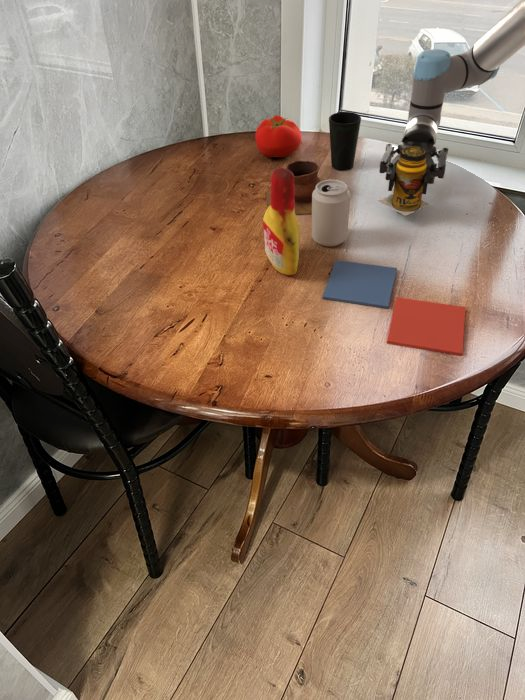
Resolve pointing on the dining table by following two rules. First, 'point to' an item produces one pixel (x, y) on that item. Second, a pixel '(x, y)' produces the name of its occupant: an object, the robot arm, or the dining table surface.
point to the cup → (343, 139)
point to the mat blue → (360, 284)
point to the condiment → (408, 181)
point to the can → (330, 212)
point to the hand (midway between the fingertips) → (407, 186)
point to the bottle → (282, 224)
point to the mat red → (427, 326)
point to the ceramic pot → (302, 185)
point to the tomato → (277, 137)
